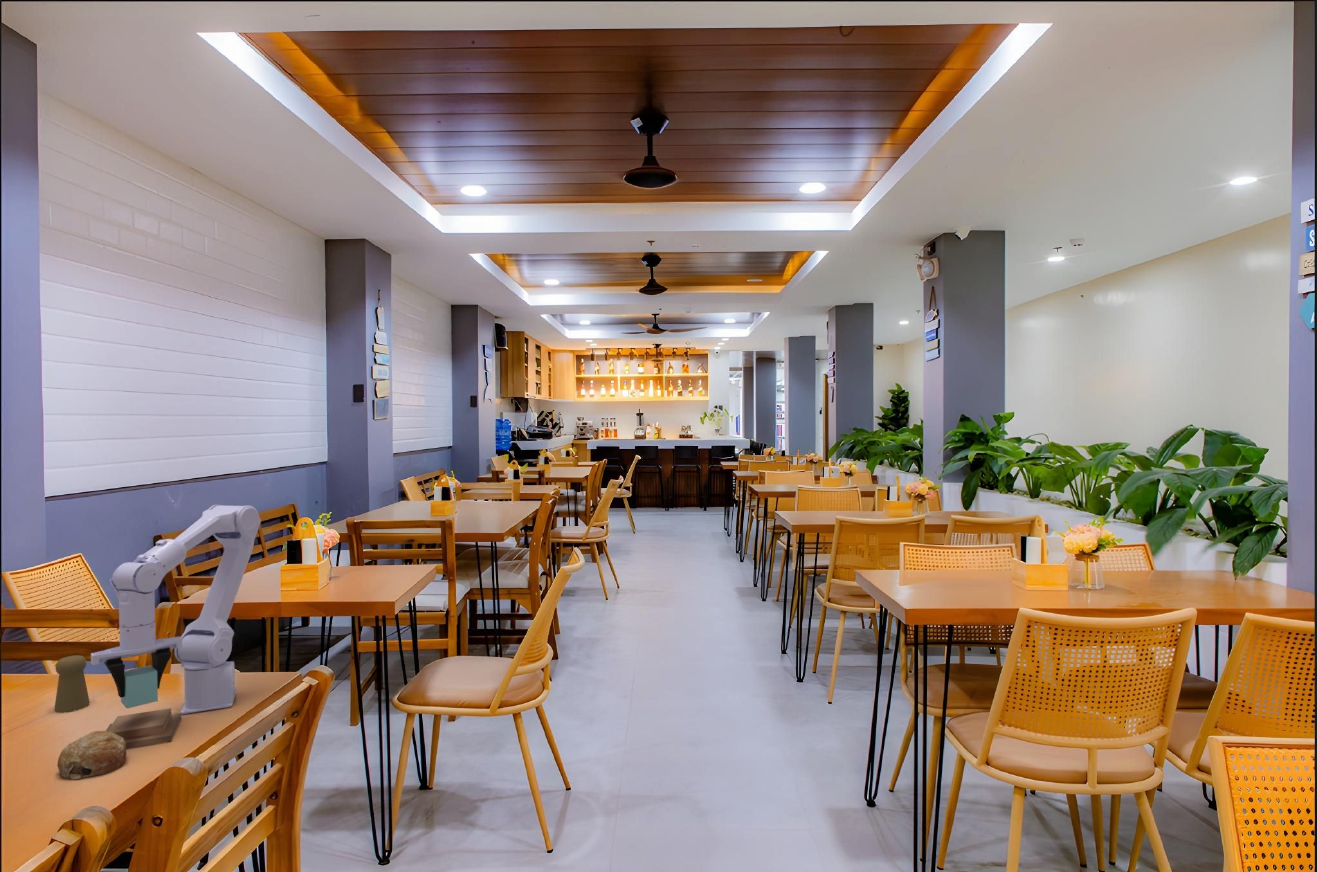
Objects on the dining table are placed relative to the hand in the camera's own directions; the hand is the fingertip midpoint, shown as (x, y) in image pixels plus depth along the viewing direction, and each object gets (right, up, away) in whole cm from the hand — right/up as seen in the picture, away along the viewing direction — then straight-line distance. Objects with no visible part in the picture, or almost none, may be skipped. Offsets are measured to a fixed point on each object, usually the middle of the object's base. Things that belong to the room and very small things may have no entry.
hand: (139, 691), depth 142 cm
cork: (-25, -9, +15) cm, 30 cm away
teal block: (0, -2, 0) cm, 2 cm away
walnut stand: (0, -9, 0) cm, 9 cm away
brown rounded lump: (+1, -9, -12) cm, 15 cm away
